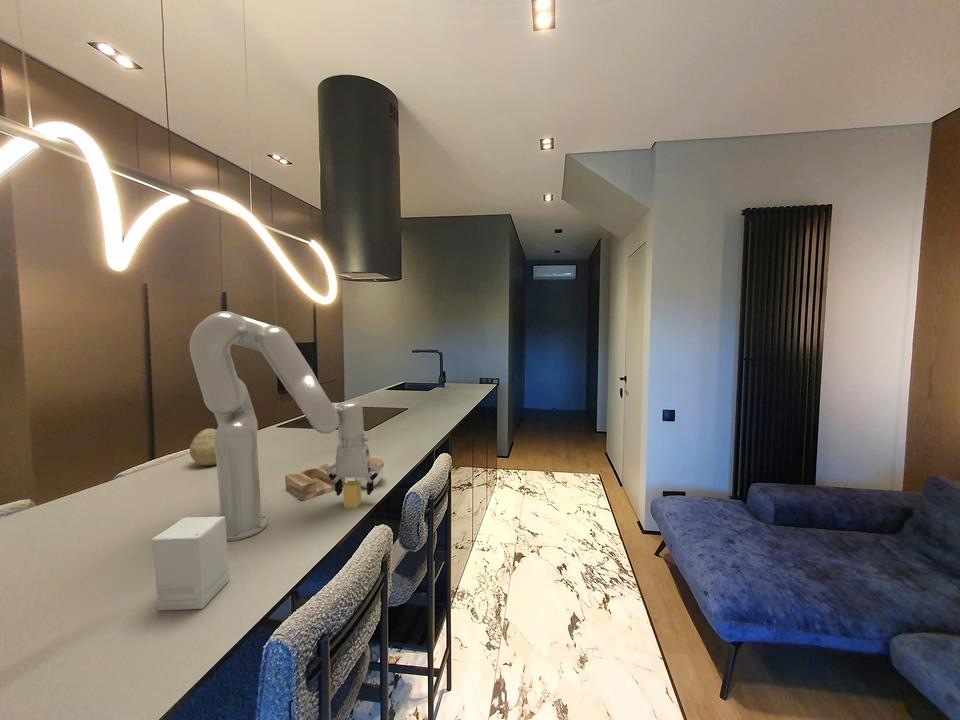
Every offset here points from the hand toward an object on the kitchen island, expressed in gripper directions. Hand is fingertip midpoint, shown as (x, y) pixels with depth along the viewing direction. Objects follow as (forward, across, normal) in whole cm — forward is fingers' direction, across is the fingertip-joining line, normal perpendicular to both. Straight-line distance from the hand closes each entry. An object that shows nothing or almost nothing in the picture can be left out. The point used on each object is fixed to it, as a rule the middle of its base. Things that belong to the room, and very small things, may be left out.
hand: (354, 493), depth 119 cm
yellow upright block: (+4, +1, 0) cm, 4 cm away
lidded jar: (+4, +1, -15) cm, 16 cm away
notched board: (+3, +18, -12) cm, 22 cm away
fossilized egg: (+2, +72, -33) cm, 79 cm away
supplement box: (+3, +19, +41) cm, 45 cm away
